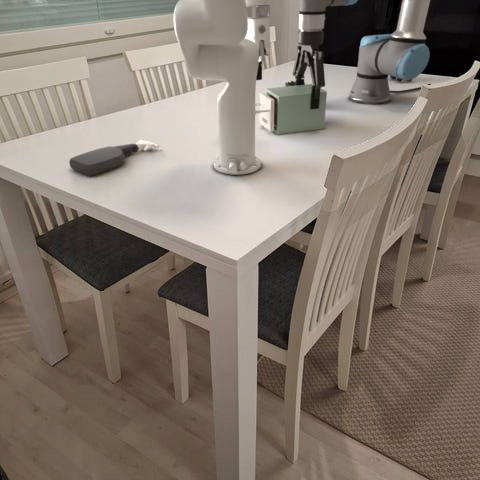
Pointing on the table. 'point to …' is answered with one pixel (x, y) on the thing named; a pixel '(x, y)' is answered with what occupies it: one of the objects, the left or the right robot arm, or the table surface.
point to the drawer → (268, 111)
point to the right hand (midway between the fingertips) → (306, 104)
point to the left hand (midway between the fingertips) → (256, 79)
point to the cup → (291, 83)
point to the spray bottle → (106, 157)
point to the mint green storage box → (298, 109)
